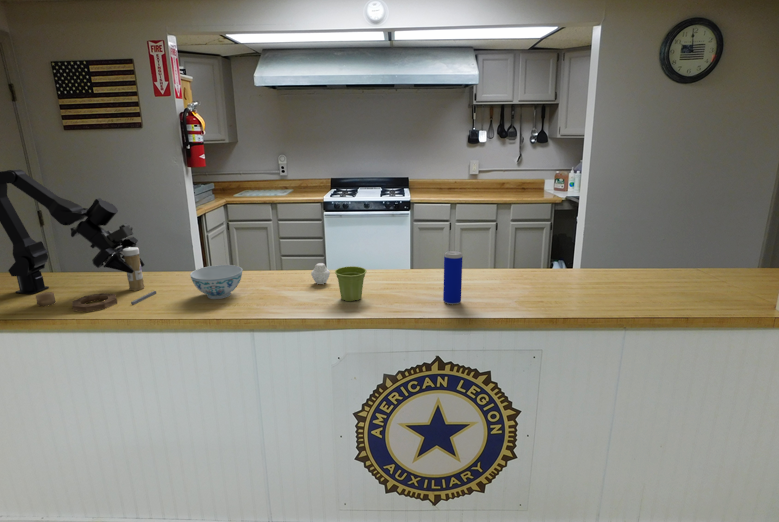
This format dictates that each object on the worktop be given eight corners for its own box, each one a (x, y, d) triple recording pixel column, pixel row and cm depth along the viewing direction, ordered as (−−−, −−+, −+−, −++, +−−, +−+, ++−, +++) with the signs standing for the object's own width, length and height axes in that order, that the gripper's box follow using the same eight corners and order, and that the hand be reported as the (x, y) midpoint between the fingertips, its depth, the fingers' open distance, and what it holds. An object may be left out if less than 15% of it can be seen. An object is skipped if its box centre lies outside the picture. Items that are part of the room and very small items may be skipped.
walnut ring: (63, 310, 137) (62, 305, 136) (94, 297, 147) (93, 292, 147) (96, 312, 134) (95, 307, 134) (125, 299, 145) (124, 294, 144)
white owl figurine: (329, 286, 155) (328, 265, 153) (310, 286, 155) (309, 265, 153) (331, 280, 161) (330, 260, 159) (313, 280, 161) (312, 260, 159)
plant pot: (372, 295, 146) (371, 268, 144) (357, 305, 138) (356, 277, 136) (345, 291, 150) (344, 265, 148) (330, 301, 142) (328, 273, 139)
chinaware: (210, 286, 156) (208, 263, 154) (253, 289, 153) (251, 265, 151) (182, 302, 142) (179, 277, 140) (228, 305, 139) (226, 280, 137)
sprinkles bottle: (145, 289, 154) (139, 248, 150) (129, 291, 151) (123, 250, 148) (143, 285, 157) (137, 245, 154) (128, 288, 155) (121, 247, 151)
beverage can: (462, 300, 141) (464, 251, 137) (459, 306, 137) (460, 255, 133) (445, 298, 143) (446, 249, 139) (441, 304, 138) (442, 254, 134)
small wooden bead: (34, 307, 139) (32, 297, 139) (42, 301, 144) (40, 292, 143) (51, 306, 140) (49, 296, 139) (58, 301, 144) (56, 291, 143)
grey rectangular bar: (133, 304, 140) (133, 302, 140) (131, 304, 140) (130, 301, 140) (156, 293, 150) (156, 291, 150) (154, 293, 150) (153, 290, 150)
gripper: (95, 223, 139) (140, 259, 142) (127, 212, 157) (166, 244, 160) (73, 250, 141) (117, 284, 144) (107, 236, 159) (145, 267, 162)
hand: (138, 269), depth 153 cm, fingers open, 7 cm apart
